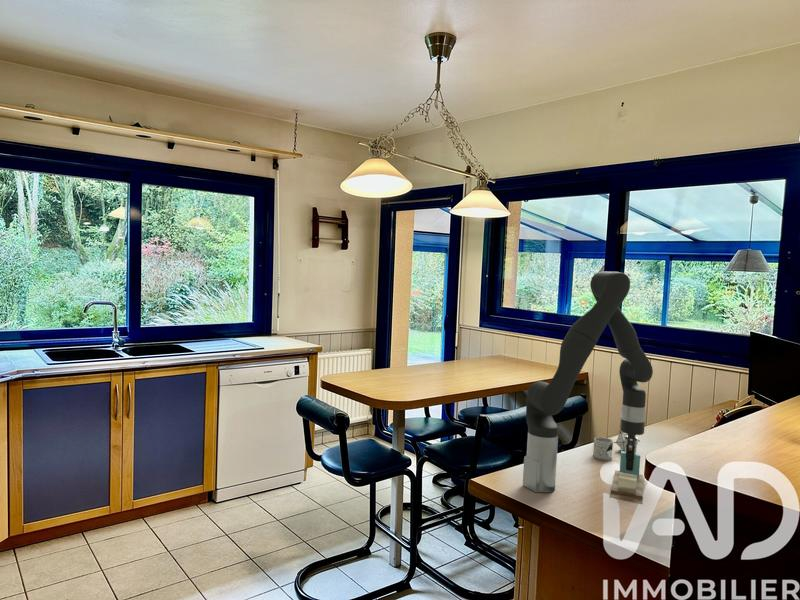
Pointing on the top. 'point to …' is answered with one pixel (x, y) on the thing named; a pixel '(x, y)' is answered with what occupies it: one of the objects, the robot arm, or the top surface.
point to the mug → (603, 448)
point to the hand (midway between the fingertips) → (629, 468)
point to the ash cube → (627, 483)
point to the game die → (622, 440)
